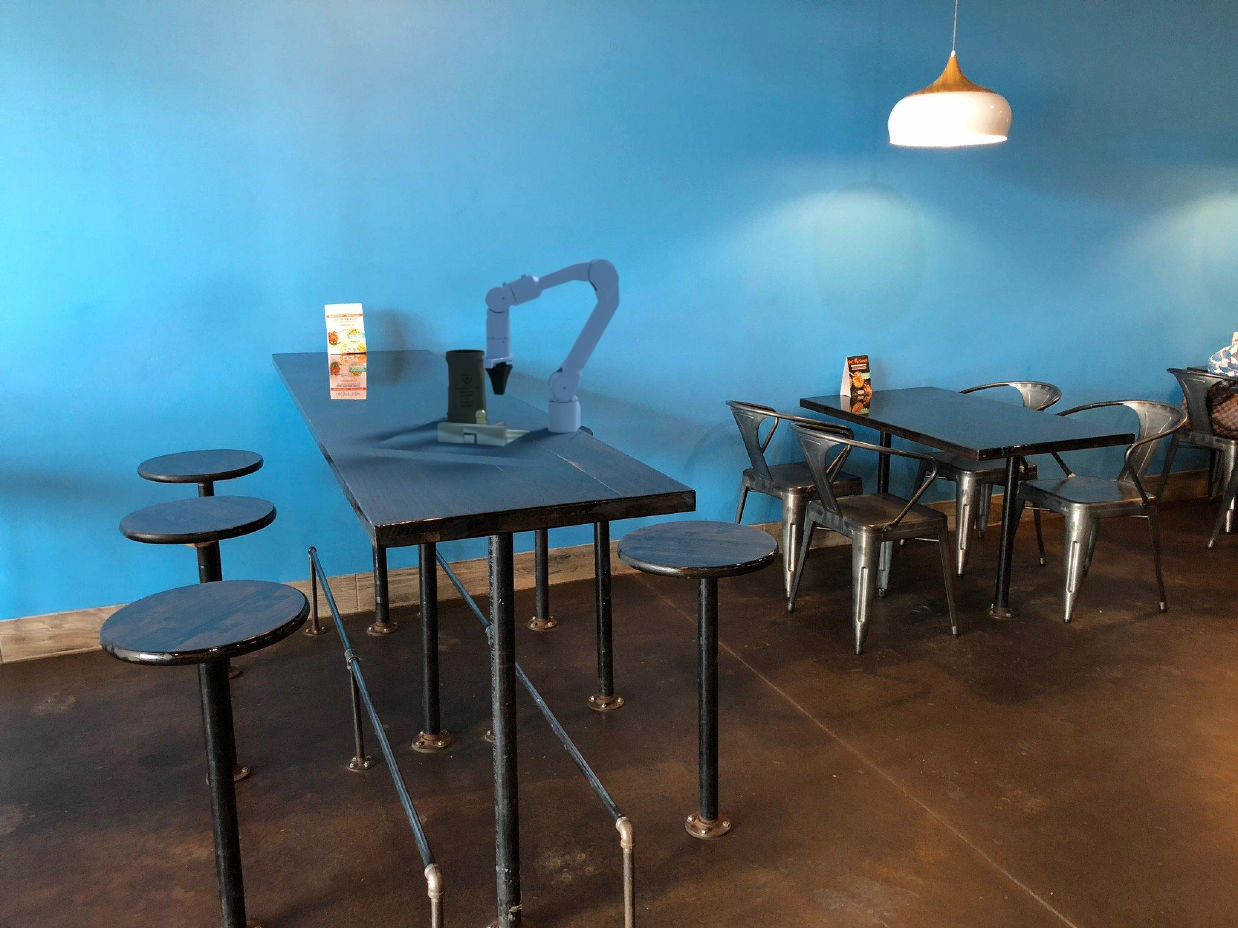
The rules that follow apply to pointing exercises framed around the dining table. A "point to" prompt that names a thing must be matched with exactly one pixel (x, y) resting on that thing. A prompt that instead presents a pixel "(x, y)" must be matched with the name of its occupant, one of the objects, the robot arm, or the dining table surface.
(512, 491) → the dining table surface
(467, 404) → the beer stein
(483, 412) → the bolt
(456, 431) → the door board
